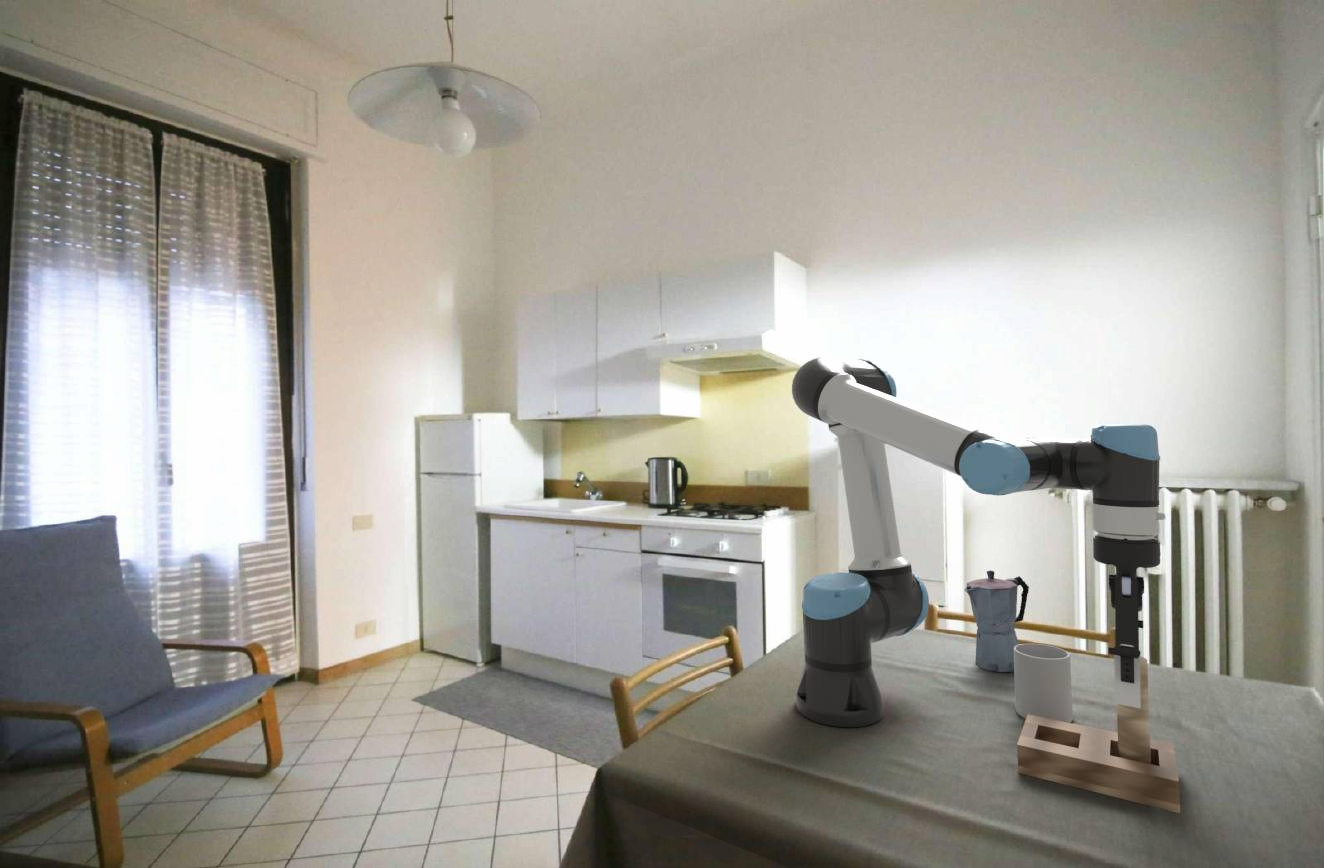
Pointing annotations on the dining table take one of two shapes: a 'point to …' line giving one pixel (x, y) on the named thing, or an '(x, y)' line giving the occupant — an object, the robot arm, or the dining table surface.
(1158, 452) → the robot arm
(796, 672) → the dining table surface
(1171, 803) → the bore block
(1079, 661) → the dining table surface
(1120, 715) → the pin
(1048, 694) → the mug
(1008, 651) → the moka pot
